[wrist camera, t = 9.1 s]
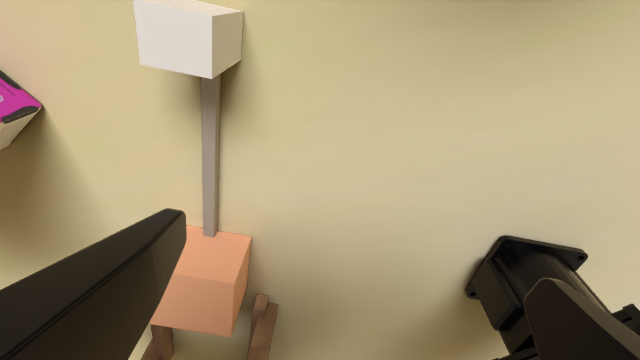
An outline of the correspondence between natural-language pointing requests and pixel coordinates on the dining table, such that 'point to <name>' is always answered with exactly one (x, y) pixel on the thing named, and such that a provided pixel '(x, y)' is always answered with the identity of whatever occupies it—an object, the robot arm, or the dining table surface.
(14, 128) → the candy bar box
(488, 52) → the dining table surface
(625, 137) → the dining table surface
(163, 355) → the walnut shelf
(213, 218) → the tethered block
